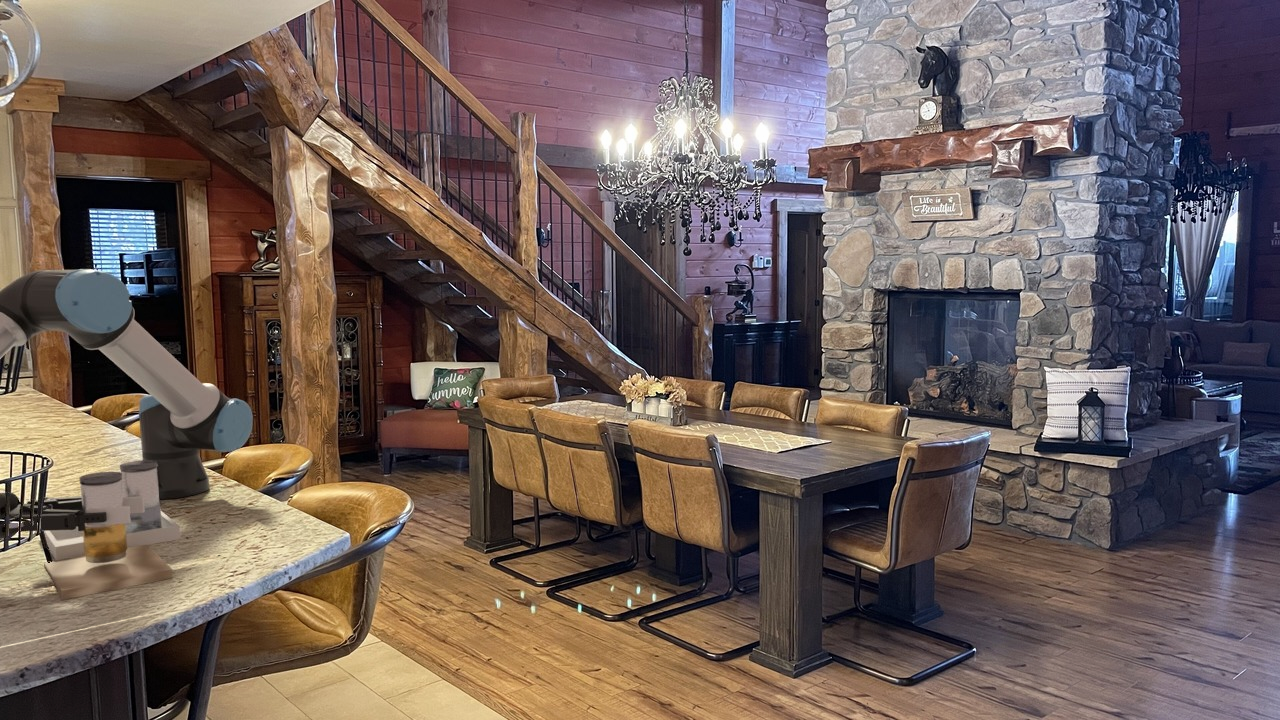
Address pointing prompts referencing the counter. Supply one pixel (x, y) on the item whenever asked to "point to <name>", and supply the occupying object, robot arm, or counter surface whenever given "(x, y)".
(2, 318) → the robot arm
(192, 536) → the counter surface
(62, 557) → the white shaker tray
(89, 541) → the lidded honey jar
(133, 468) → the clear grey lidded jar
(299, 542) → the counter surface
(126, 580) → the board
